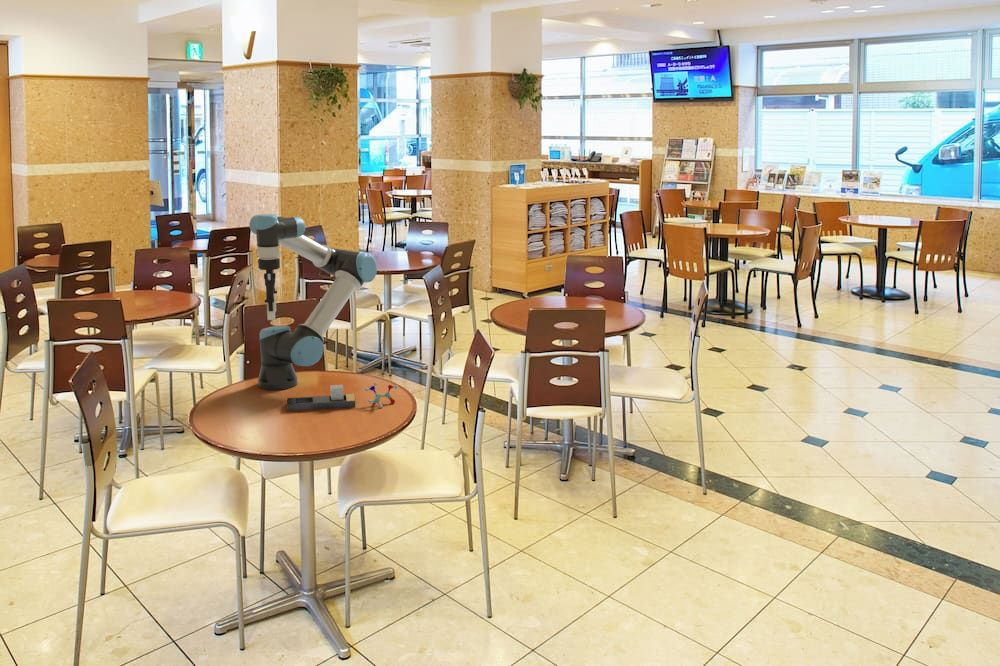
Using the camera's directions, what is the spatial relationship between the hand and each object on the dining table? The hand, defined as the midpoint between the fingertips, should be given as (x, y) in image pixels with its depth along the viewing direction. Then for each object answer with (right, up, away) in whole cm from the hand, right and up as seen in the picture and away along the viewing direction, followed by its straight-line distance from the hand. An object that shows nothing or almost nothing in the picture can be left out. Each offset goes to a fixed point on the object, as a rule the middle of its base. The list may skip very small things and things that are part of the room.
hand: (272, 315), depth 320 cm
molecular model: (+39, -33, +2) cm, 51 cm away
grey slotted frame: (+18, -33, 0) cm, 37 cm away
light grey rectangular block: (+24, -33, +1) cm, 40 cm away
